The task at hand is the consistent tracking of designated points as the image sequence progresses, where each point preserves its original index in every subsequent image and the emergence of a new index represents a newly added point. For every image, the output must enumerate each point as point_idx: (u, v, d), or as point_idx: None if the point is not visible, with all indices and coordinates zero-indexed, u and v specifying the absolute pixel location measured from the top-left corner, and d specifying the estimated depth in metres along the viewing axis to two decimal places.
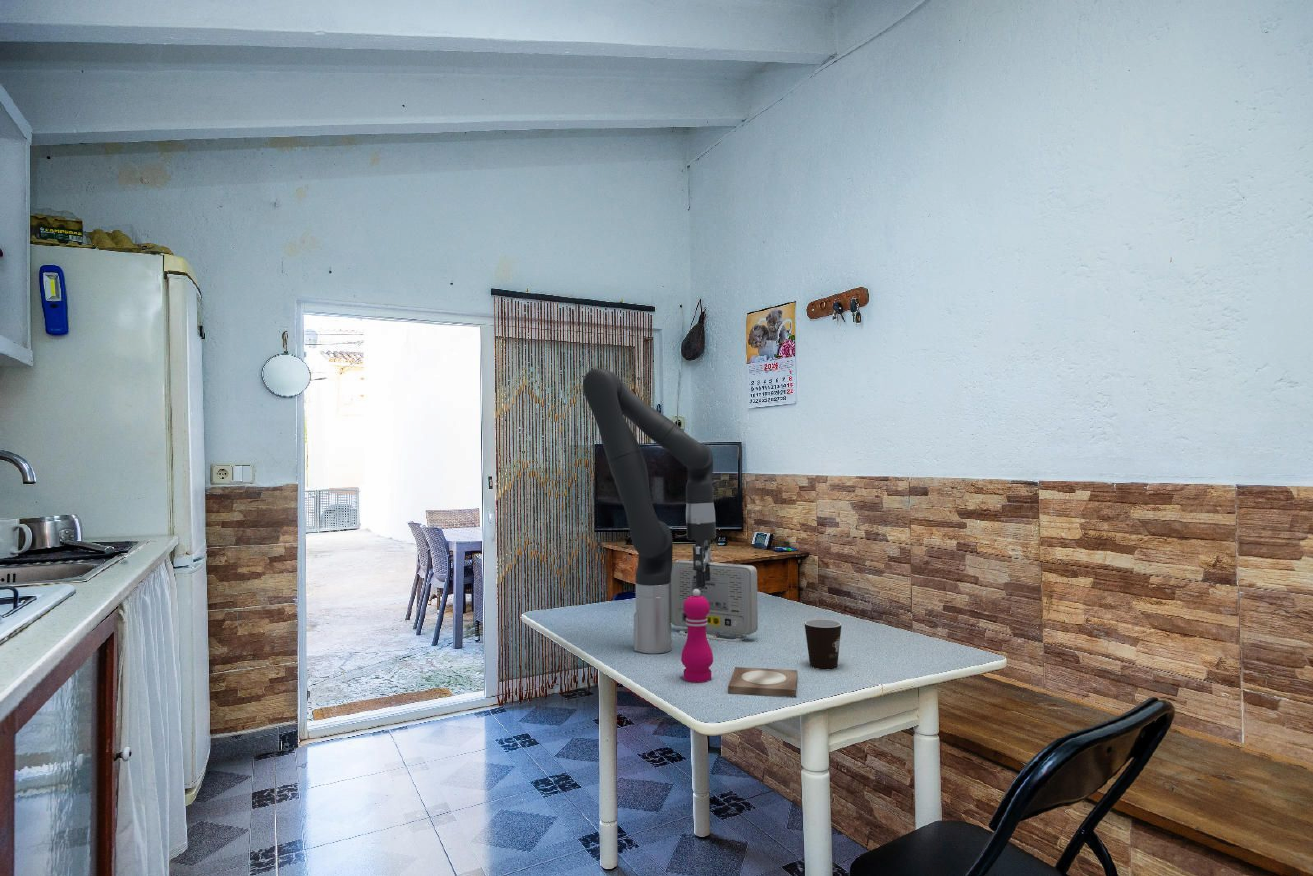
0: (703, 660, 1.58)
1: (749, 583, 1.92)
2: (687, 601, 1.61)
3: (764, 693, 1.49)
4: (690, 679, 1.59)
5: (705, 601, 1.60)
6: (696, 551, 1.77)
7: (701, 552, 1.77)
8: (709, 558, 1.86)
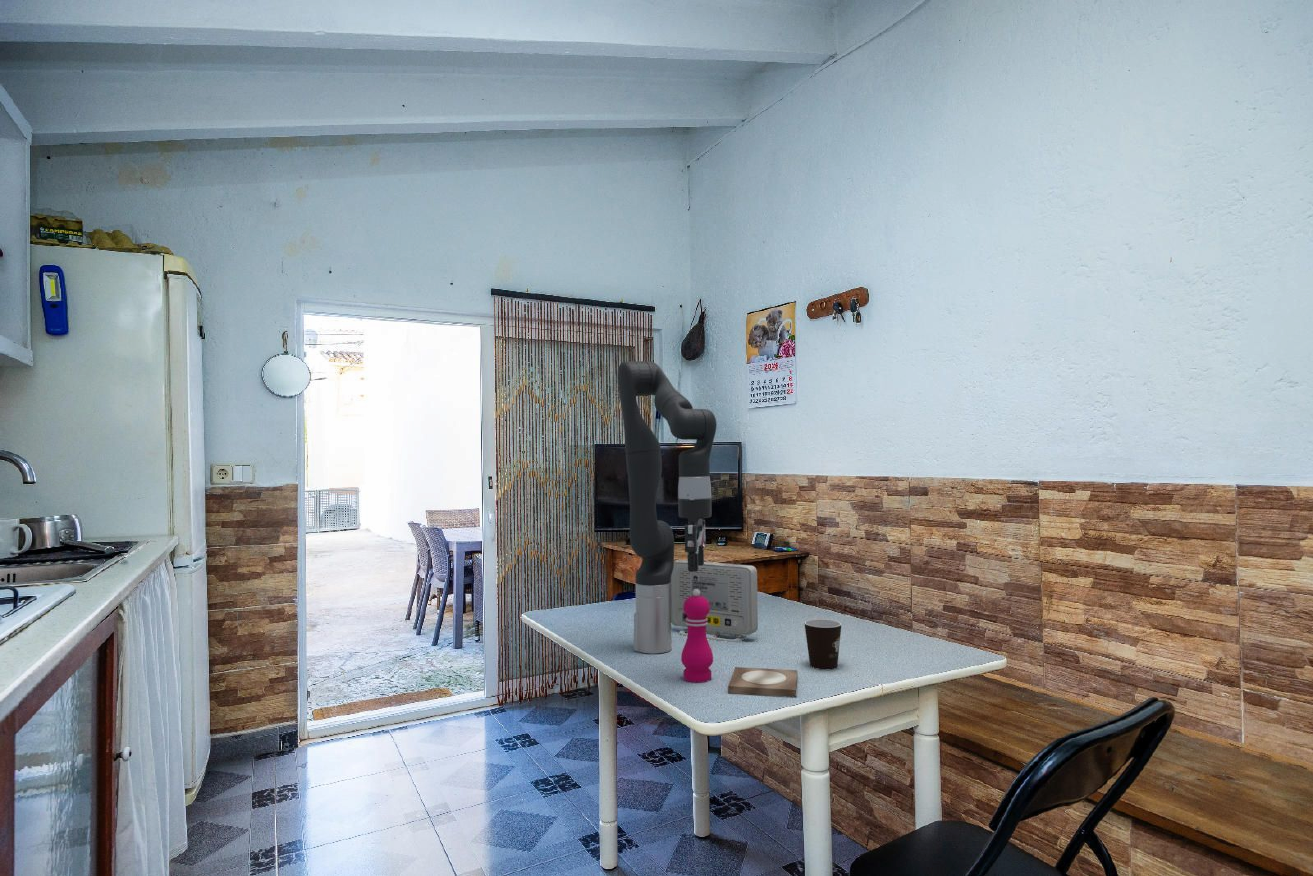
0: (703, 660, 1.58)
1: (749, 583, 1.92)
2: (687, 601, 1.61)
3: (764, 693, 1.49)
4: (690, 679, 1.59)
5: (705, 601, 1.60)
6: (688, 530, 1.56)
7: (694, 531, 1.55)
8: (703, 539, 1.65)
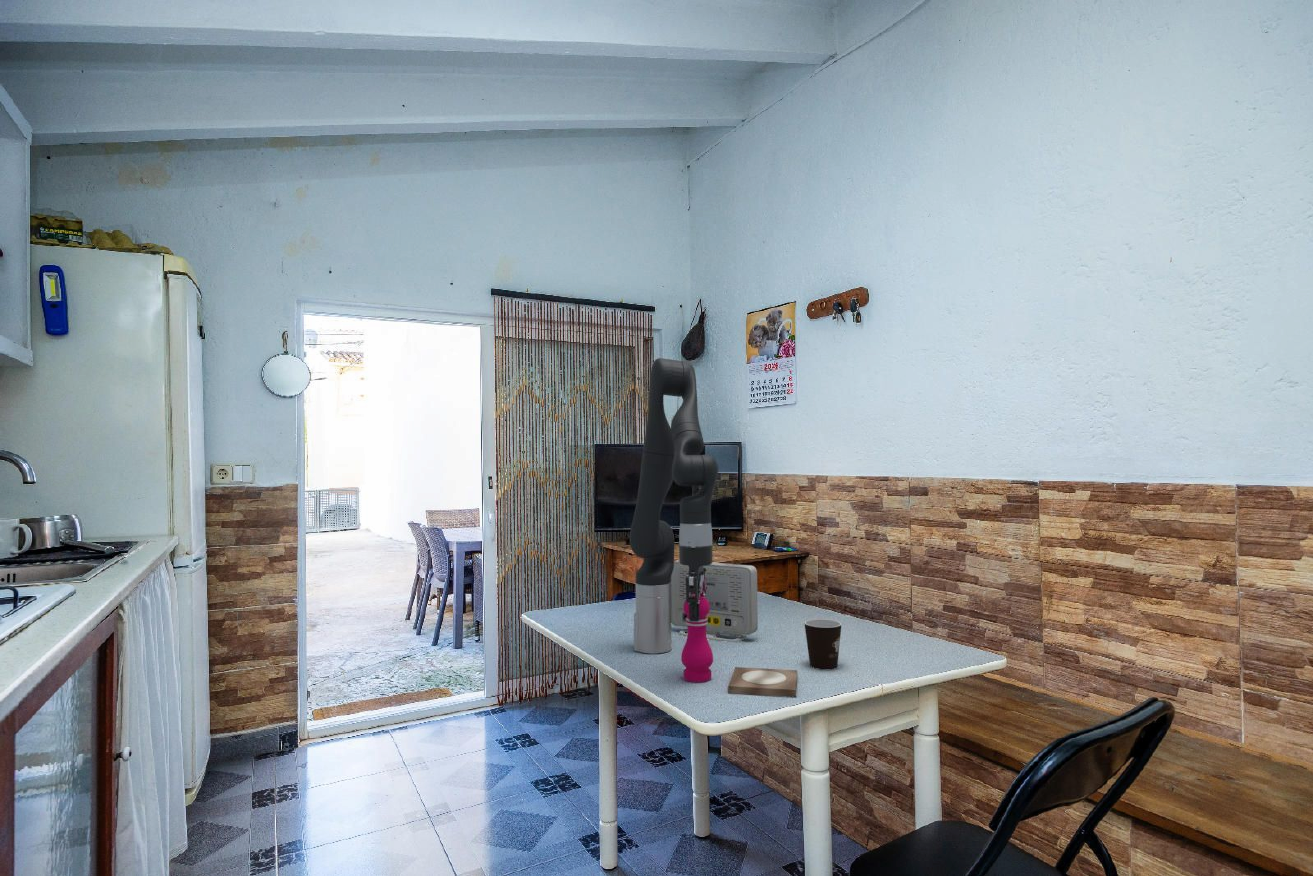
0: (703, 660, 1.58)
1: (749, 583, 1.92)
2: None
3: (764, 693, 1.49)
4: (690, 679, 1.59)
5: (705, 601, 1.60)
6: (689, 582, 1.55)
7: (695, 584, 1.55)
8: (703, 587, 1.64)
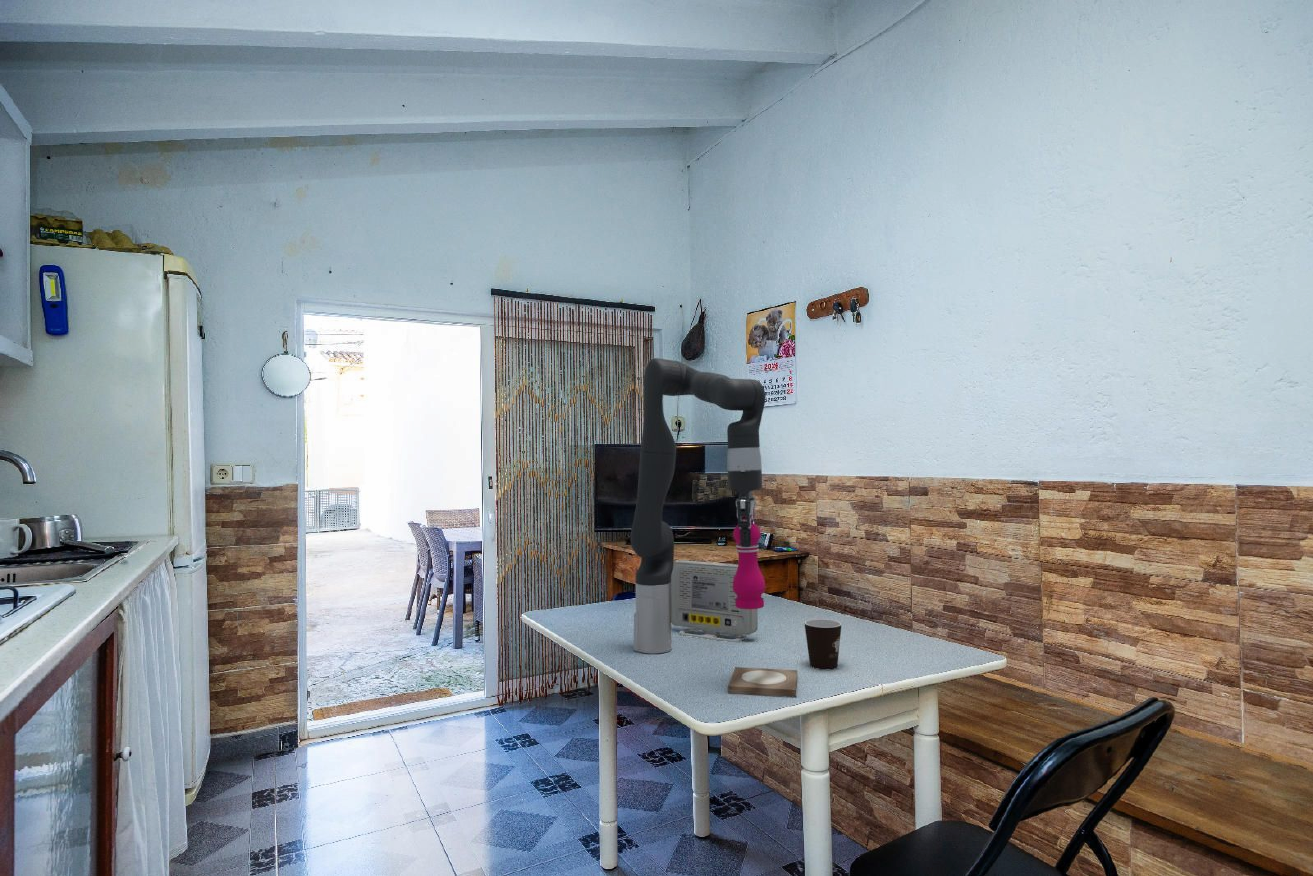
0: (756, 586, 1.54)
1: None
2: (737, 527, 1.57)
3: (764, 693, 1.49)
4: (743, 606, 1.55)
5: (756, 527, 1.57)
6: (741, 505, 1.52)
7: (747, 507, 1.52)
8: (753, 514, 1.60)
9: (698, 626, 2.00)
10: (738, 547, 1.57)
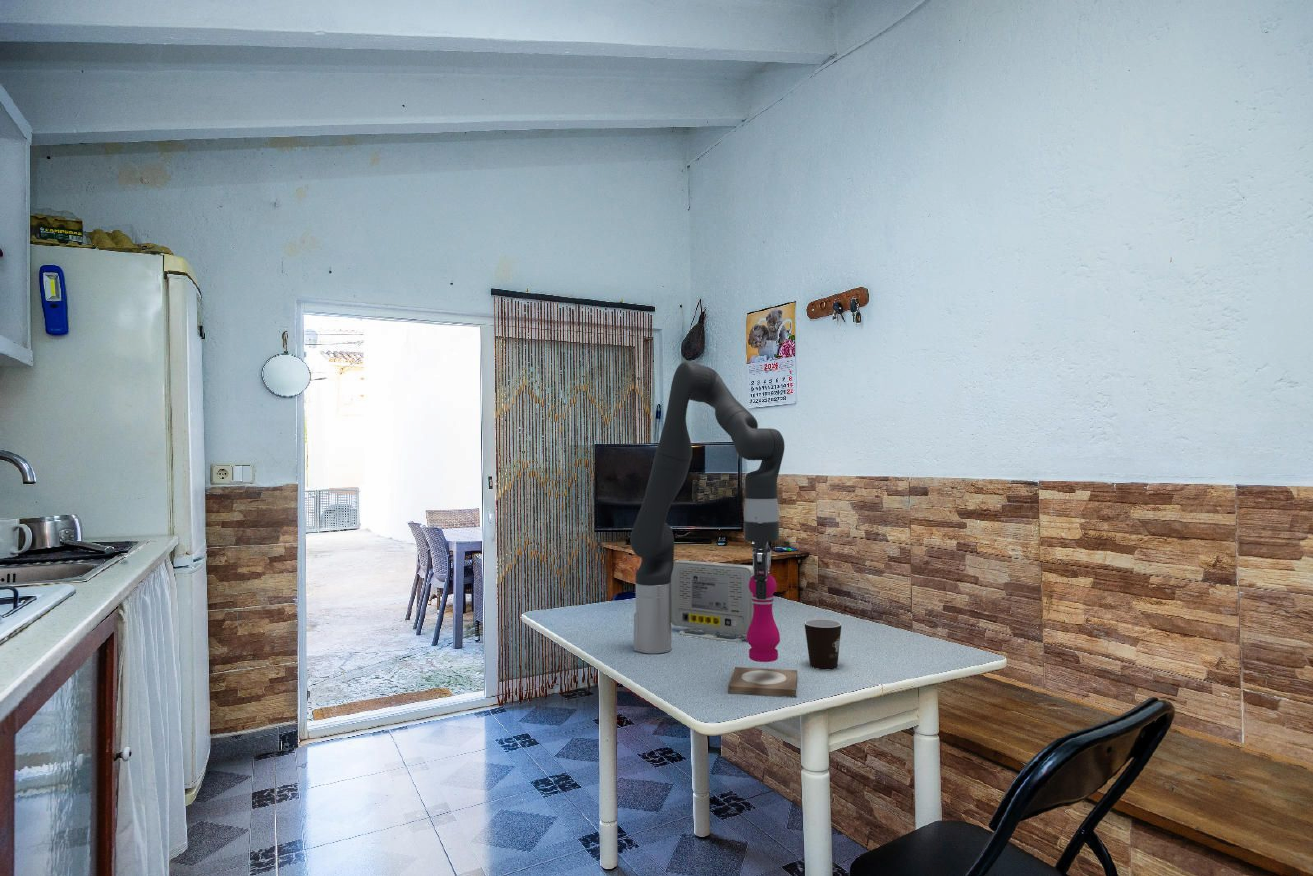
0: (771, 639, 1.53)
1: None
2: (753, 578, 1.56)
3: (764, 693, 1.49)
4: (757, 659, 1.54)
5: (772, 578, 1.55)
6: (758, 559, 1.51)
7: (764, 560, 1.50)
8: (769, 565, 1.59)
9: (698, 626, 2.00)
10: (753, 598, 1.56)
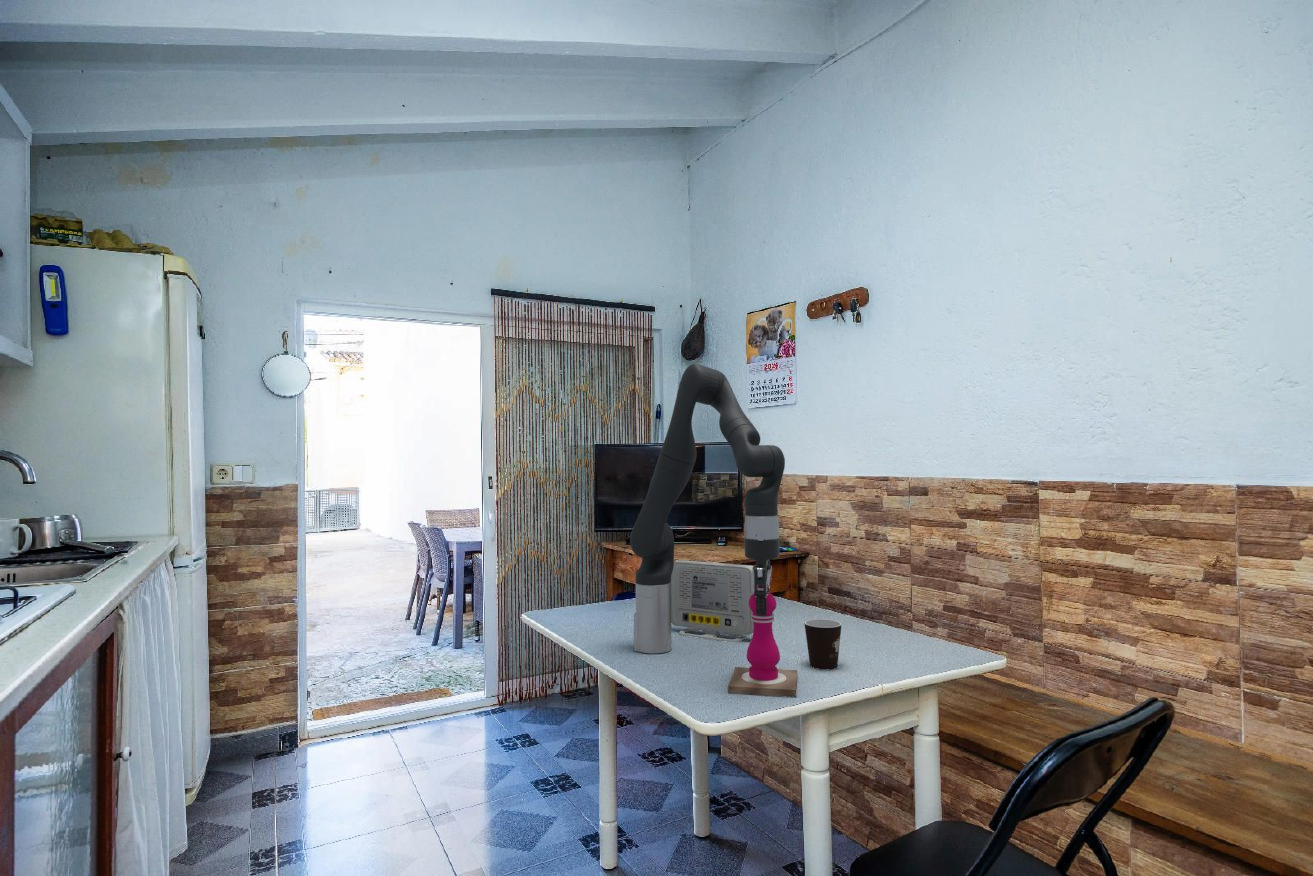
0: (771, 658, 1.53)
1: (749, 583, 1.92)
2: (753, 597, 1.56)
3: (764, 693, 1.49)
4: (757, 677, 1.54)
5: (772, 597, 1.55)
6: (758, 574, 1.50)
7: (764, 575, 1.50)
8: (769, 580, 1.59)
9: (698, 626, 2.00)
10: (753, 617, 1.56)
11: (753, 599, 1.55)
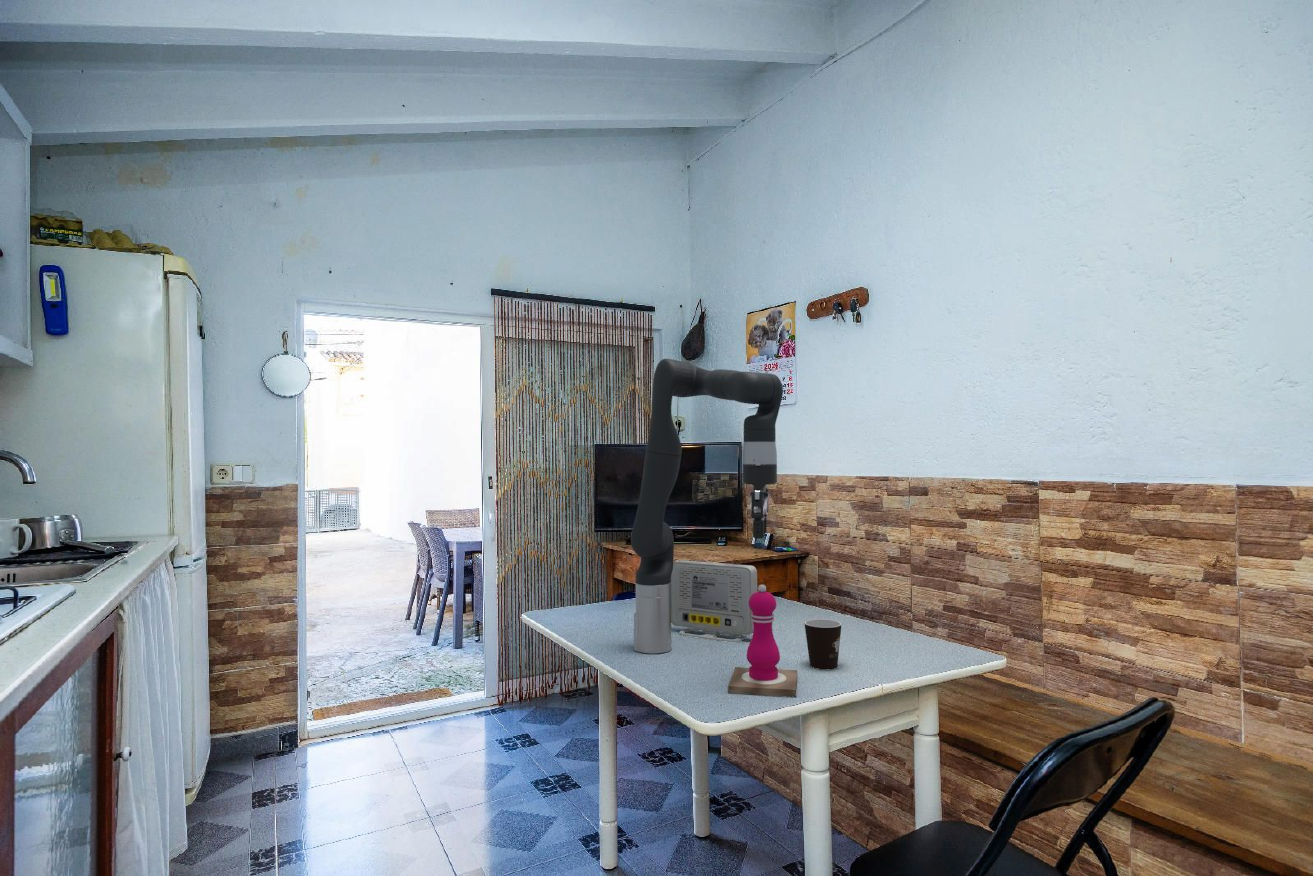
0: (771, 658, 1.53)
1: (749, 583, 1.92)
2: (753, 597, 1.56)
3: (764, 693, 1.49)
4: (757, 677, 1.54)
5: (772, 597, 1.55)
6: (755, 496, 1.52)
7: (761, 497, 1.51)
8: (767, 507, 1.61)
9: (698, 626, 2.00)
10: (753, 617, 1.56)
11: (753, 599, 1.55)
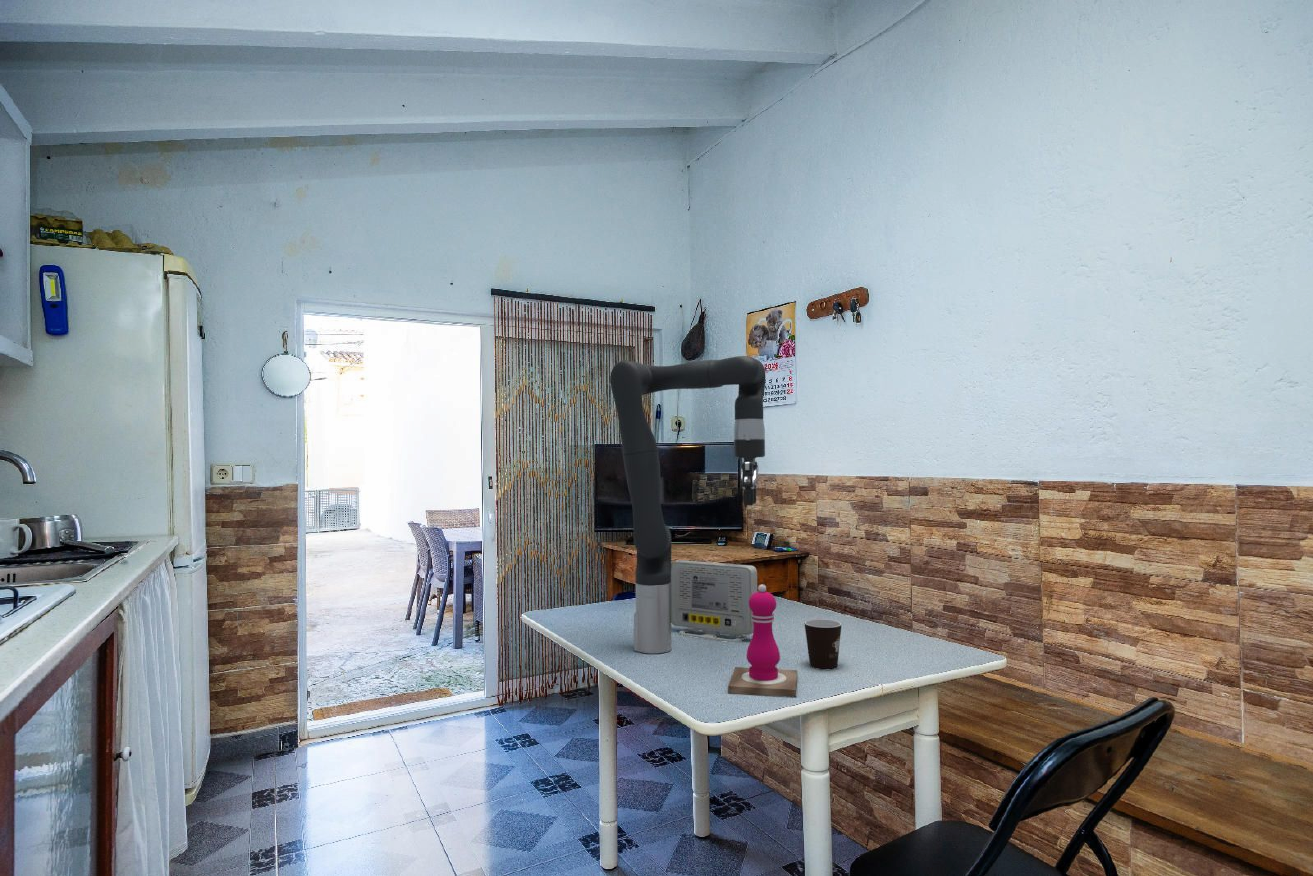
0: (771, 658, 1.53)
1: (749, 583, 1.92)
2: (753, 597, 1.56)
3: (764, 693, 1.49)
4: (757, 677, 1.54)
5: (772, 597, 1.55)
6: (745, 467, 1.69)
7: (751, 468, 1.69)
8: (756, 478, 1.78)
9: (698, 626, 2.00)
10: (753, 617, 1.56)
11: (753, 599, 1.55)
